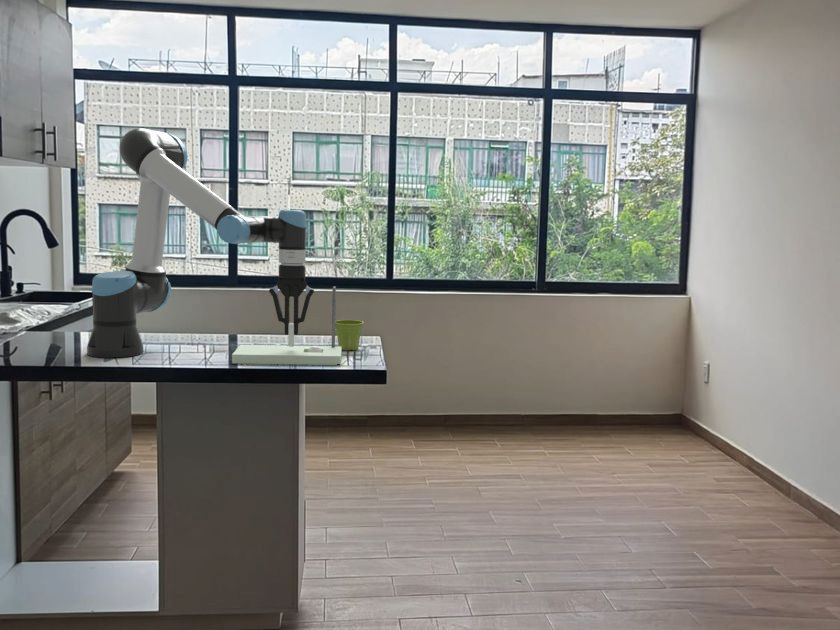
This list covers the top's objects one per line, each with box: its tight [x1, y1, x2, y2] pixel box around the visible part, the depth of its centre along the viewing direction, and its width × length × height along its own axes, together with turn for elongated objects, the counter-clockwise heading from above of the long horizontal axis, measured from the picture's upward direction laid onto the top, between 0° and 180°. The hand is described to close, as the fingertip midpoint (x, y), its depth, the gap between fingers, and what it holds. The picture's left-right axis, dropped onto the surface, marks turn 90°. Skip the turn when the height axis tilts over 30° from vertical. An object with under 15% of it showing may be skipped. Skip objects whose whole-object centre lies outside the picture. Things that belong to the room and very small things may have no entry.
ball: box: [308, 345, 322, 353], centre depth 222 cm, size 4×4×4 cm
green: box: [231, 286, 343, 366], centre depth 222 cm, size 30×20×20 cm, turn 95°
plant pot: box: [335, 319, 364, 351], centre depth 240 cm, size 9×9×9 cm
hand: (291, 345), depth 221 cm, fingers closed
